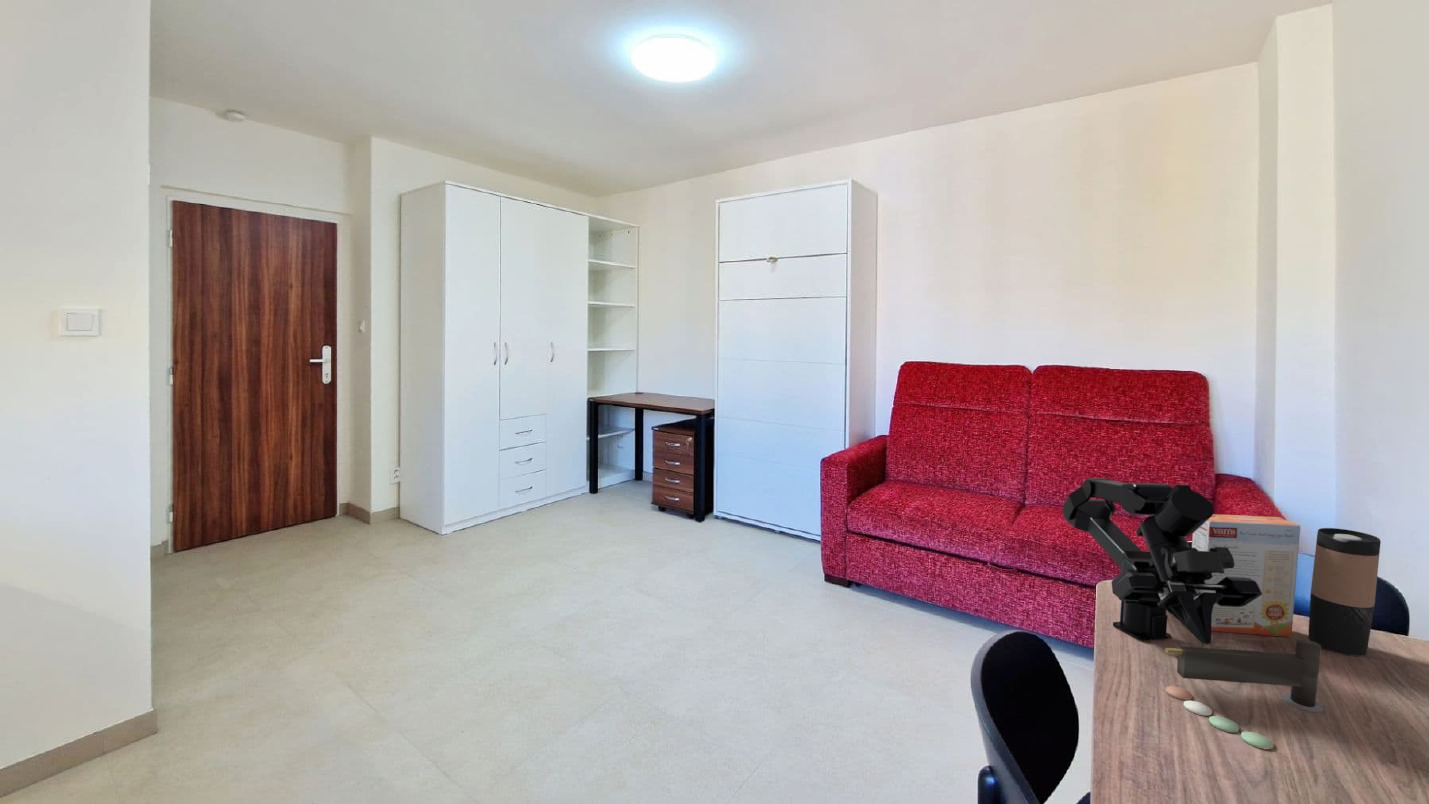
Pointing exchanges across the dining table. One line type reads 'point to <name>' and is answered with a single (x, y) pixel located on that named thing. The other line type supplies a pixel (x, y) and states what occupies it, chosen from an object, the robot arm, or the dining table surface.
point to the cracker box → (1255, 570)
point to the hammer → (1256, 667)
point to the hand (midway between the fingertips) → (1206, 643)
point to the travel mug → (1343, 590)
